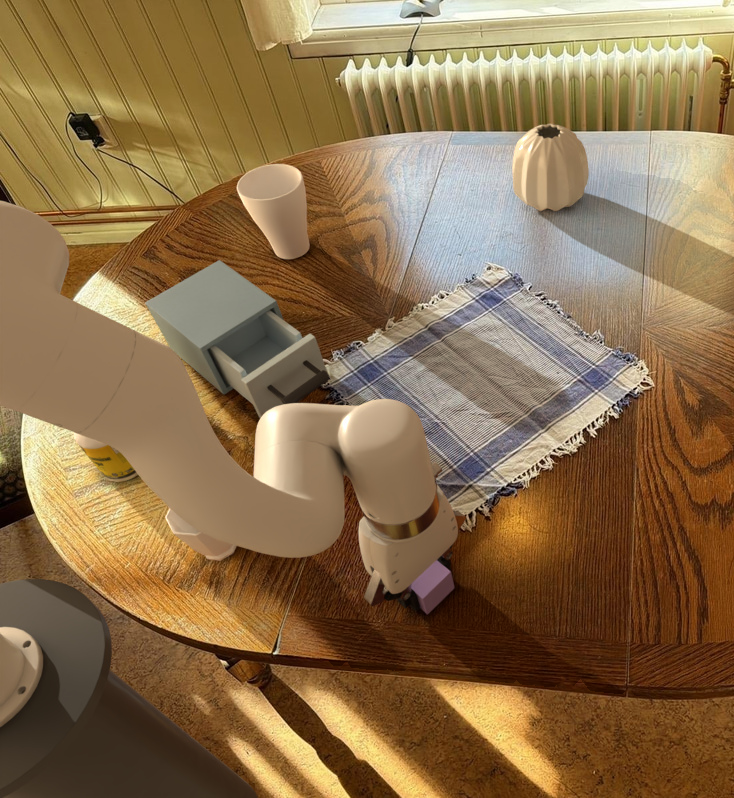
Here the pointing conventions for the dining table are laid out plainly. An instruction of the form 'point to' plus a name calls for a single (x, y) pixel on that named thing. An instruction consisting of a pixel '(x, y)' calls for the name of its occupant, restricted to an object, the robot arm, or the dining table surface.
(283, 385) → the drawer
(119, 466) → the pill bottle
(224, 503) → the robot arm
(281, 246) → the cup
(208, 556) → the cup
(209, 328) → the cabinet
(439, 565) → the cube
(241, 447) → the dining table surface
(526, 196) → the vase
